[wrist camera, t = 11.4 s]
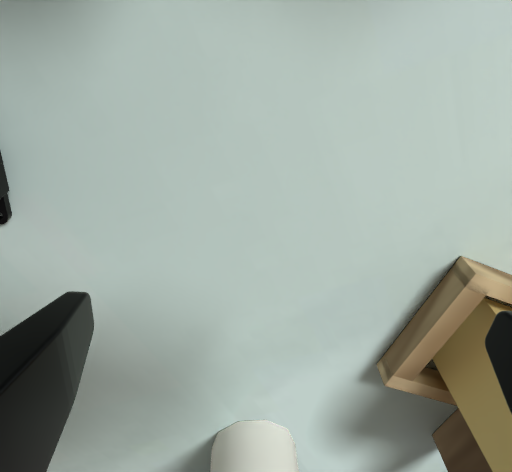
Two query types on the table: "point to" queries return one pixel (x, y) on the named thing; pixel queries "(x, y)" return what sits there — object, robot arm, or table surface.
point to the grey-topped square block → (478, 385)
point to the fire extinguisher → (254, 448)
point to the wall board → (431, 341)
